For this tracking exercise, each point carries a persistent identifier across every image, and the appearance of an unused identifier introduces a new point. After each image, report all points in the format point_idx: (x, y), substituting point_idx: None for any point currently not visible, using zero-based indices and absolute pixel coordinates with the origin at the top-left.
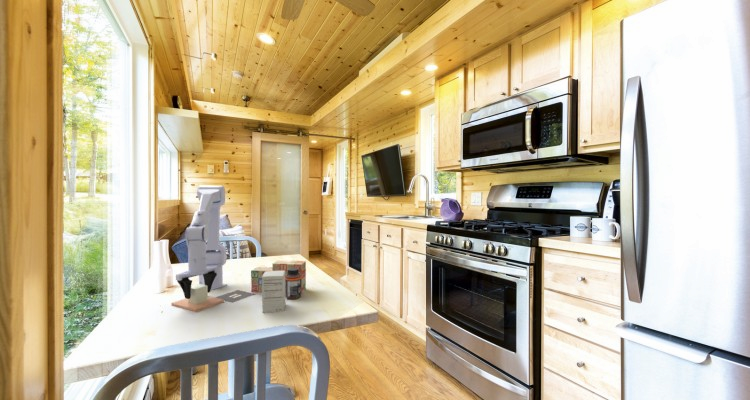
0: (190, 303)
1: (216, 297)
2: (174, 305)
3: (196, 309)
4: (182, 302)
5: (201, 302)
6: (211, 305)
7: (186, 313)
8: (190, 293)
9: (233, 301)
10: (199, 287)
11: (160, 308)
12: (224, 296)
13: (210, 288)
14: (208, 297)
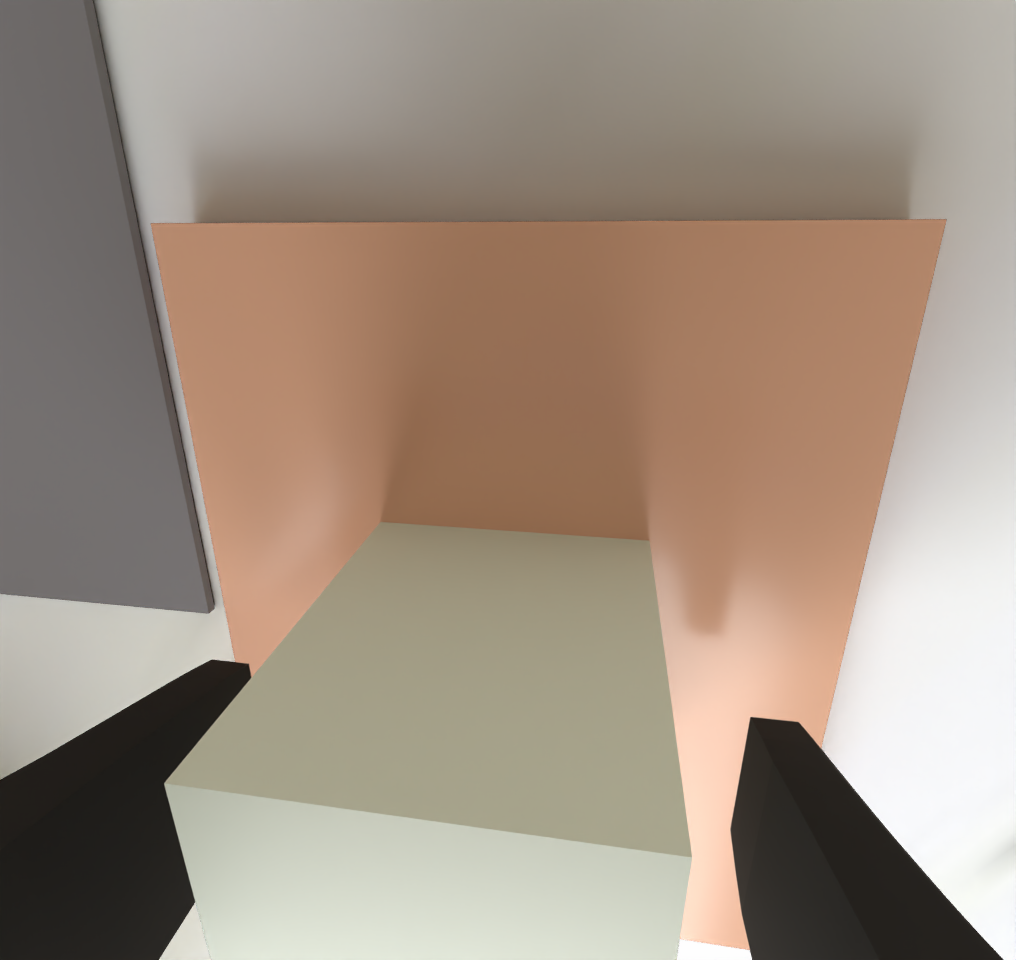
0: None
1: (165, 585)
2: None
3: (904, 223)
4: None
5: (520, 532)
6: (484, 223)
7: (1008, 370)
8: (811, 819)
9: (31, 25)
10: (463, 881)
11: None
12: (49, 503)
13: (135, 713)
14: None
